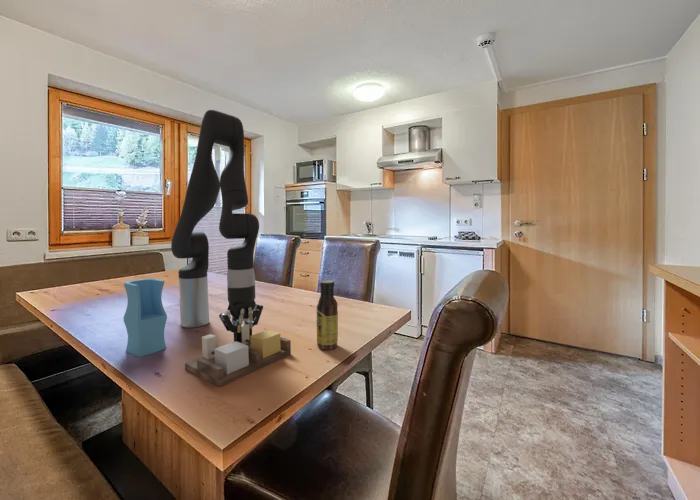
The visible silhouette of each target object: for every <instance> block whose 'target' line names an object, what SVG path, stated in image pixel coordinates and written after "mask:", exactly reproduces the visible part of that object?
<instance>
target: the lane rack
mask: <svg viewBox="0 0 700 500" xmlns="http://www.w3.org/2000/svg"><path fill="white" fill-rule="evenodd" d="M291 344H292V343H291V339H288V338H285V337H281V336H280V345H281V351H279V352H277V353H275V354H272V355H270V356H268V357H266V358H260V352H257V351H255V350H252V349H251V344H250V343H248V344H245V345H248V354H249V365H248V366H246V367H243V368H241V369H239V370H236V371H234V372H232V373H230V374H225V373H223V368H222V367H220V366H218V365H216V364H215V357H213V358H211V359H206V358H203V356H201V357H198V358H195V359H192V360H190V361H187V362H184V370H186V371H189V372H190V373H193V374H195V375H196V376H197V377H200V378H202V379H203V380H205V381H207V382H209V383H211V384H213V385H214V386H216V387H217V388H220V387H222V386H225V385H226V384H228V383H231V382H234V380H235V381H236V380H237V379H239V378H241V377H243V376H246V375H248V374H250V373H252V372H254V371H257V370H259V369H262V368H263V367H265V366H267V365H270V364H272V363H275V362H276V361H279V360H281V359H283V358H285V357H287V356H290V355H291V354H292V353H291V352H292V350H291V349H292V347H291V346H292V345H291Z"/></svg>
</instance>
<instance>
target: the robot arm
mask: <svg viewBox="0 0 700 500" xmlns="http://www.w3.org/2000/svg"><path fill="white" fill-rule="evenodd" d="M244 131H245V130H244V126H243V123H242V120H241V119H240V118H239V117H236V116H234V115H231V114H229V113H225V112H222V111H219V110H217V109H212V108H209V109H207V110H206V111H205V112H204V114H203V117H202V120H201V123H200V128H199V136H198V141H197V146H196V147H197V148H196V153H195V159H194V162H193V166H192V170H191V172H190V173H191V174H190V176H189V177H190V178H189V180H188V184H187V188H186V191H185V196H184V200H183V206H182V210H181V213H180V216H179V218H178V221H177V223H176V224H177V225H176V226H175V230H174V232H173V234H172V239H171V245H170V248H171V253H172V255H173V257H174V258H176V259H180V260H181V259H191V261H190V262H189V263H188V264H187V265H185V266H184V267H181V268H180V269H179V270H178V288H179V289H178V290H179V313H180V315H179V316H180V326H181V327H183V328H189V329H190V328H198V327H203V326H206V325H207V324H209V323H210V307H209V305H210V304H209V303H210V302H209V283H208V281H209V280H208V271H209V262H210V261H209V256H210V255H209V254H210V253H209V252H210V250H209V249H210V248H209V246H210V245H209V239H208V236H207V234H206V233H205V232H203V231H194V229H195V227H196V226H197V224H198V223H200V222H201V221H202V220H203V218H204V217H206V215H207V214H208V213H209V212H211V210H212V209H213V208H214V207H215V205H216V203H217V200H218V198H219V197H218V196H219V193H221V194H220V195H221V205H222V206H221V214H220V219H219V223H218V229H219V233H220V236H222V238H224V239H227V240H237V239H239V240H240V239H244V240H243V242H242V243H241V244H240V245H237V246H234V247H230V248H229V249H228V250H227V252H226V254H227V255H226V256H227V257H226V259H227V260H226V261H227V274H226V283H227V284H226V285H227V301H228V306H227V310H226V311H225V312H223V313H220V314H219V315H218V317H219V319H220V321H221V322H222V324H223V326H224V328H225V329H226V331H227V332H231V333H233V342H235V341H237V342H240V343H242V332H241V325H242V324H243V323H246V324H249V338H250V336H251V335H253V328H254V327H255V326H257V325H258V324H259V321H260V318H261V315H262V312H263V309H264V305H262V304H258V303H256V301H255V300H256V274H255V269H254V268H255V267H254V265H255V264H254V251H255V246H256V241H257V238H258V235H259V230H260V222H259V219H258V217H257V215H255V214H254V213H234V212H233V211H236V210H241V209H244V208H246V207H247V206H248V204H249V196H248V191H247V184H246V179H245V178H246V177H245V134H244V133H245V132H244ZM214 144H215V145H220V146H225V147H228V148H229V152H230V157H229V159H228V162H226V164H225V166H224V167H223V170H222V171H221V173H220V177H219V175H218V172H217V169H216V167H215V165H214V160H213V156H212V155H213V147H214ZM231 317H232V318H231ZM250 340H251V338H250Z"/></svg>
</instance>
